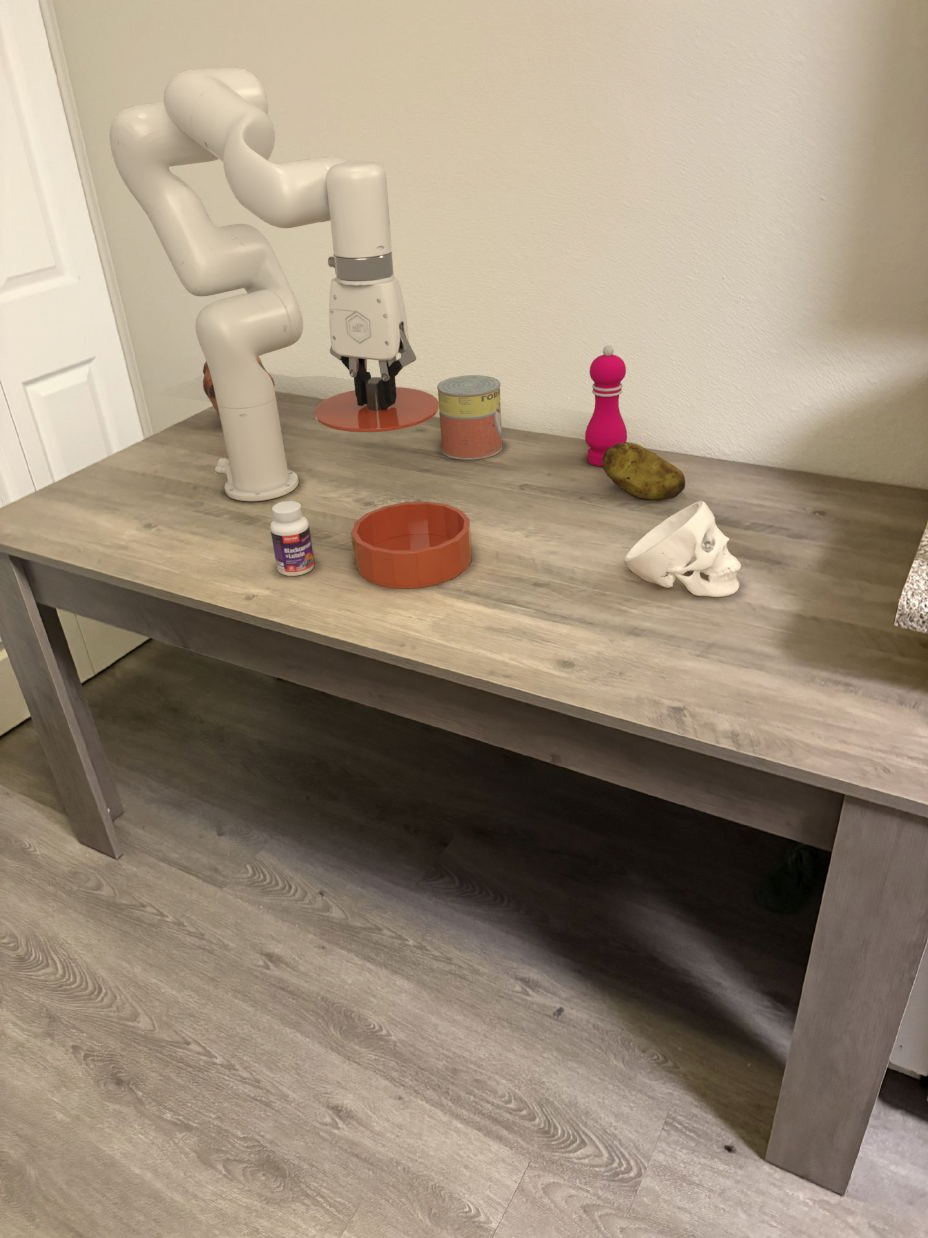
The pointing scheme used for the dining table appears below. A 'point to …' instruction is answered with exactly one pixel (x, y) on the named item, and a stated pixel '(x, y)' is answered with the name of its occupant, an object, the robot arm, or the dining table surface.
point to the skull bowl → (686, 554)
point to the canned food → (470, 417)
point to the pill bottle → (291, 539)
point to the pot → (412, 544)
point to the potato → (642, 472)
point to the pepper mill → (605, 406)
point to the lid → (376, 410)
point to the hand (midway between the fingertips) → (376, 403)
